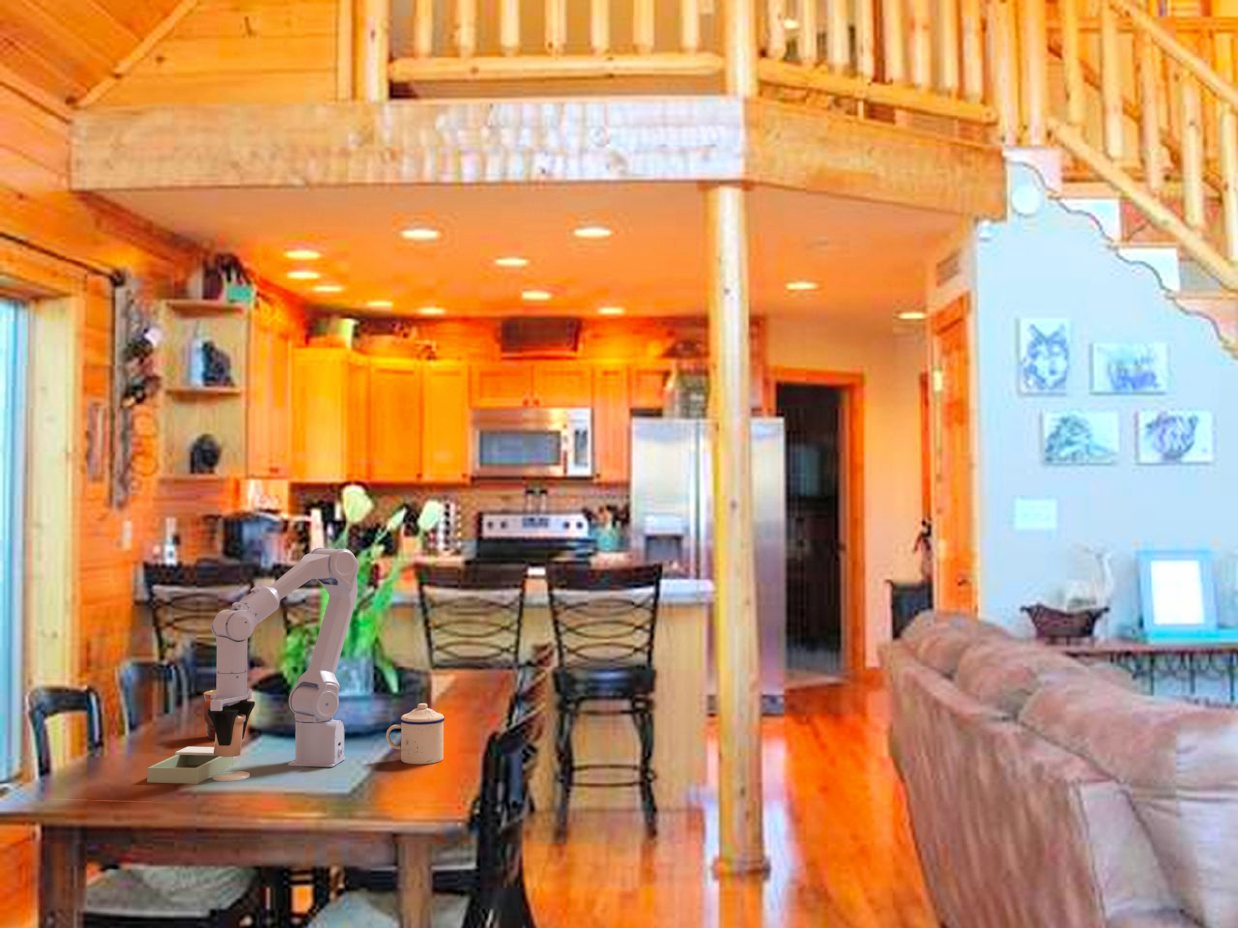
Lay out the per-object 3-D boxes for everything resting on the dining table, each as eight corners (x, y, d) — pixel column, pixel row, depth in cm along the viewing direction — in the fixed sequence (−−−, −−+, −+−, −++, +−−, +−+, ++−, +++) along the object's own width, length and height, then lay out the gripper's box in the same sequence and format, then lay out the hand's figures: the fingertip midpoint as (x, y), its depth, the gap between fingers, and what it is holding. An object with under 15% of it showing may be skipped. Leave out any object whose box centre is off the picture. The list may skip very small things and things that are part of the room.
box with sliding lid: (237, 765, 251) (237, 747, 252) (198, 785, 234) (199, 766, 234) (187, 763, 253) (187, 746, 253) (145, 783, 235) (145, 765, 235)
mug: (215, 733, 285) (216, 688, 285) (250, 734, 283) (250, 689, 284) (187, 743, 273) (188, 696, 274) (223, 745, 272) (224, 698, 272)
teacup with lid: (446, 755, 261) (447, 700, 261) (441, 765, 252) (441, 707, 252) (389, 755, 260) (389, 700, 261) (382, 765, 251) (382, 707, 252)
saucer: (255, 774, 243) (255, 771, 243) (240, 783, 236) (240, 779, 236) (221, 773, 243) (221, 770, 243) (205, 782, 236) (205, 778, 237)
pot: (246, 753, 242) (250, 714, 242) (234, 758, 236) (238, 718, 237) (219, 750, 243) (223, 711, 243) (206, 755, 237) (210, 715, 237)
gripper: (228, 666, 248) (227, 734, 247) (195, 676, 233) (194, 749, 233) (261, 667, 247) (261, 735, 247) (231, 677, 233) (230, 750, 232)
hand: (231, 742), depth 240 cm, fingers closed on pot, 5 cm apart
